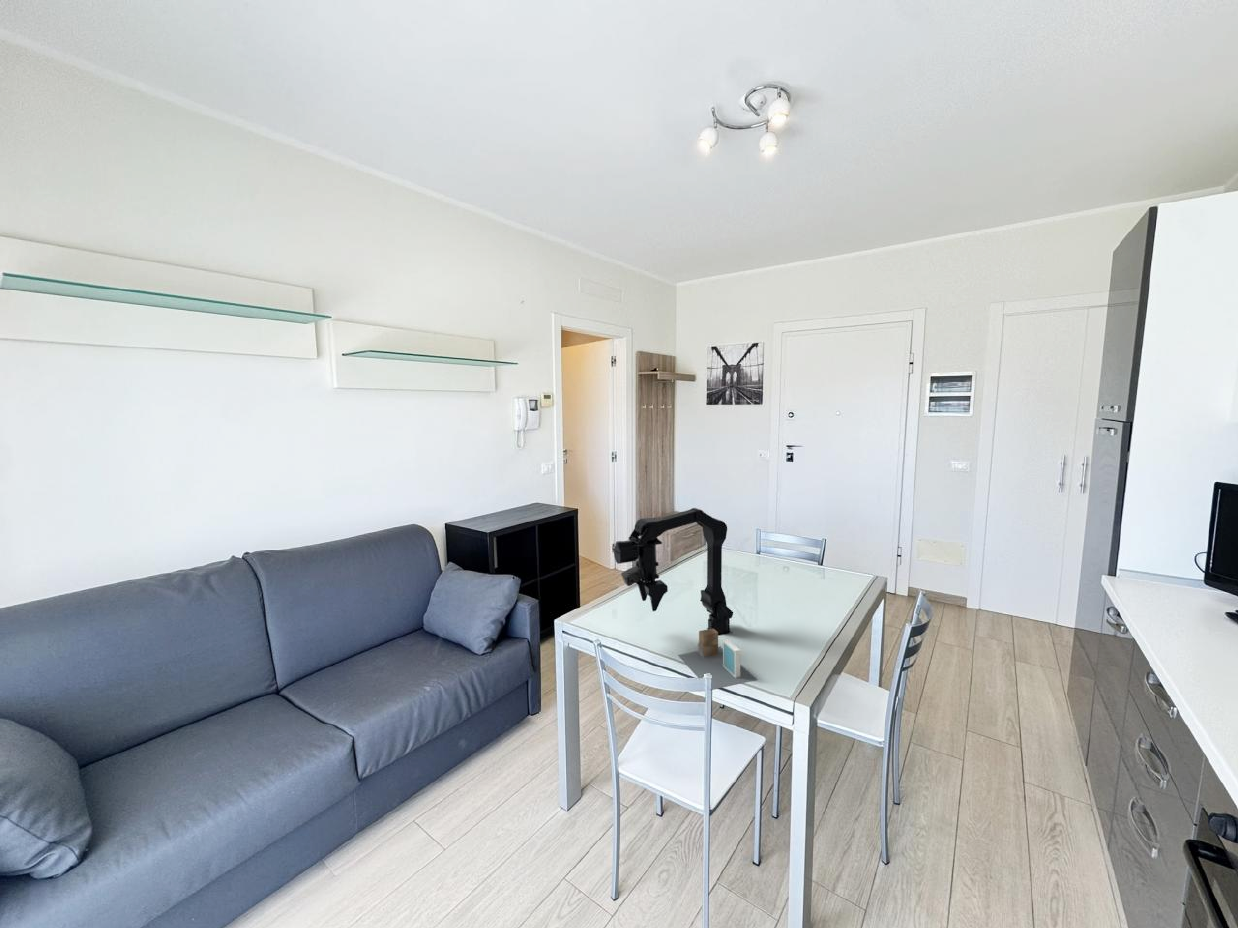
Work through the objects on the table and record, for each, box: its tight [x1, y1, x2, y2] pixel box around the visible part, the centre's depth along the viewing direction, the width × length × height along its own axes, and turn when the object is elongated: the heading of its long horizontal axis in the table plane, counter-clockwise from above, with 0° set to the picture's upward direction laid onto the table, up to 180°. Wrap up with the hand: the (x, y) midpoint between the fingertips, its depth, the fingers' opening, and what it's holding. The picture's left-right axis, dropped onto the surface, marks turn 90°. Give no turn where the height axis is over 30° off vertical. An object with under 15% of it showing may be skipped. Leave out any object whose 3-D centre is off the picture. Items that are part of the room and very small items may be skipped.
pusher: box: [697, 629, 719, 657], centre depth 155 cm, size 5×3×7 cm, turn 108°
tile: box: [722, 639, 741, 678], centre depth 144 cm, size 2×7×8 cm, turn 18°
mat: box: [677, 646, 758, 691], centre depth 147 cm, size 15×21×1 cm
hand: (649, 605), depth 161 cm, fingers open, 9 cm apart
